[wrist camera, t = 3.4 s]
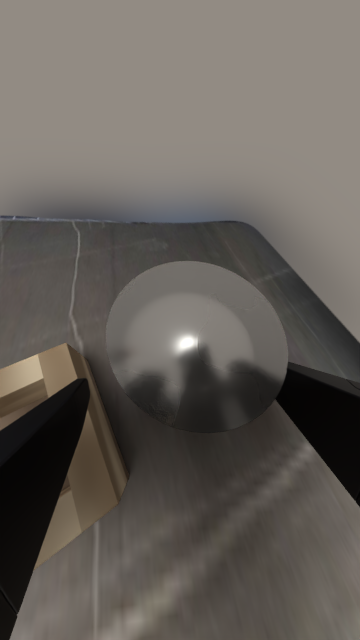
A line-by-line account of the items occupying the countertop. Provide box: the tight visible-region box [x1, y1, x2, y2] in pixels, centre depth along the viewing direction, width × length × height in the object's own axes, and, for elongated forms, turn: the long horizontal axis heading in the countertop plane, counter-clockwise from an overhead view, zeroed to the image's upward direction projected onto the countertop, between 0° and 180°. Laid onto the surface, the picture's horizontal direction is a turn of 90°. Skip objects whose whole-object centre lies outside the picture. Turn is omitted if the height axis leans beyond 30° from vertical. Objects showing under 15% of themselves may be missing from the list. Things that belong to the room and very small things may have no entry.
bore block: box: [0, 343, 129, 571], centre depth 11 cm, size 10×10×4 cm
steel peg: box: [106, 261, 288, 433], centre depth 10 cm, size 5×5×13 cm
